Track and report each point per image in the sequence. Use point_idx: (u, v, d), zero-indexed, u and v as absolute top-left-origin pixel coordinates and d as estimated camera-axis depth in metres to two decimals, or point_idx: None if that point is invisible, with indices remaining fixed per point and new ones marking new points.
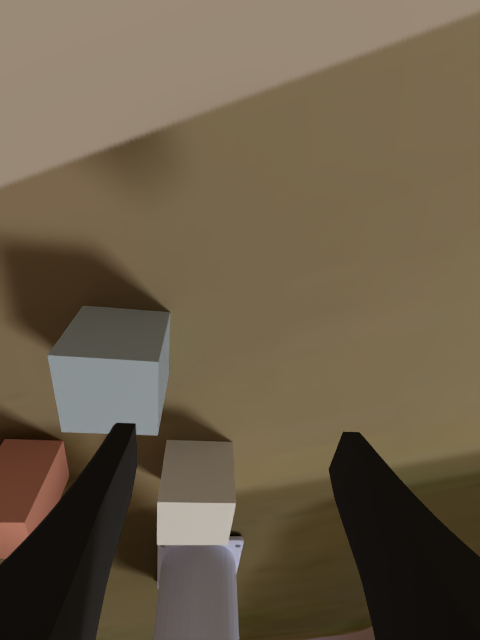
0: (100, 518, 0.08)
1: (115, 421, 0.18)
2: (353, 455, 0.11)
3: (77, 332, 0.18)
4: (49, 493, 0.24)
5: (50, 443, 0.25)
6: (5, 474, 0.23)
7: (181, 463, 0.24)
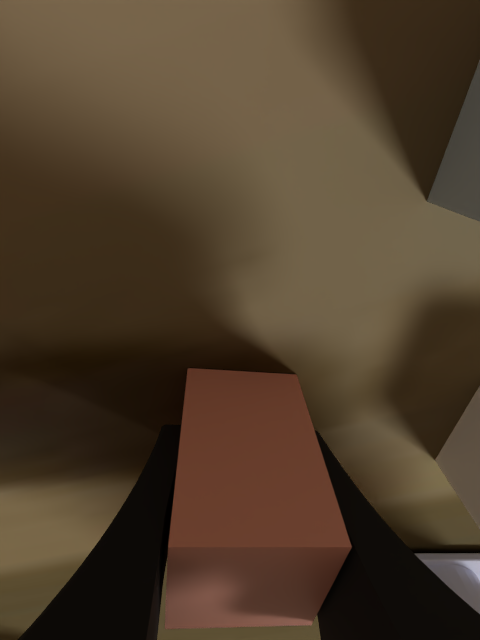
0: (165, 519, 0.08)
1: None
2: None
3: None
4: None
5: (277, 378, 0.12)
6: (231, 432, 0.10)
7: None
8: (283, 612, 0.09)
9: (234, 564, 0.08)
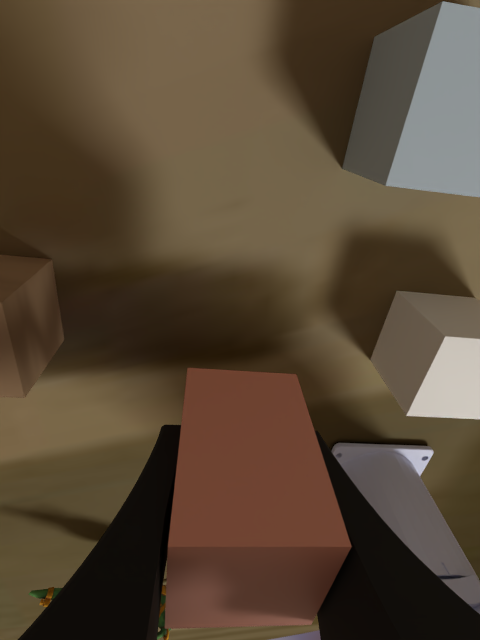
0: (165, 519, 0.08)
1: (469, 167, 0.12)
2: None
3: None
4: None
5: (277, 378, 0.12)
6: (231, 432, 0.10)
7: (436, 309, 0.18)
8: (283, 612, 0.09)
9: (234, 564, 0.08)
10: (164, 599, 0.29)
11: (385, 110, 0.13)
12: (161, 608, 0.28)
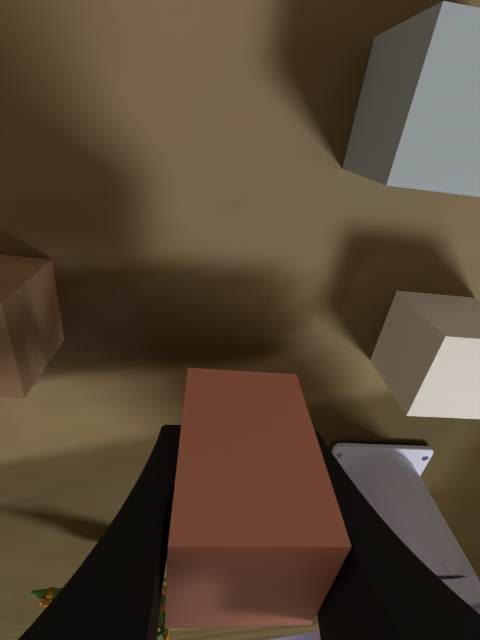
0: (165, 519, 0.08)
1: (469, 166, 0.12)
2: None
3: None
4: None
5: (277, 378, 0.12)
6: (231, 432, 0.10)
7: (436, 309, 0.18)
8: (283, 612, 0.09)
9: (234, 564, 0.08)
10: (164, 599, 0.29)
11: (385, 110, 0.13)
12: (161, 608, 0.28)
